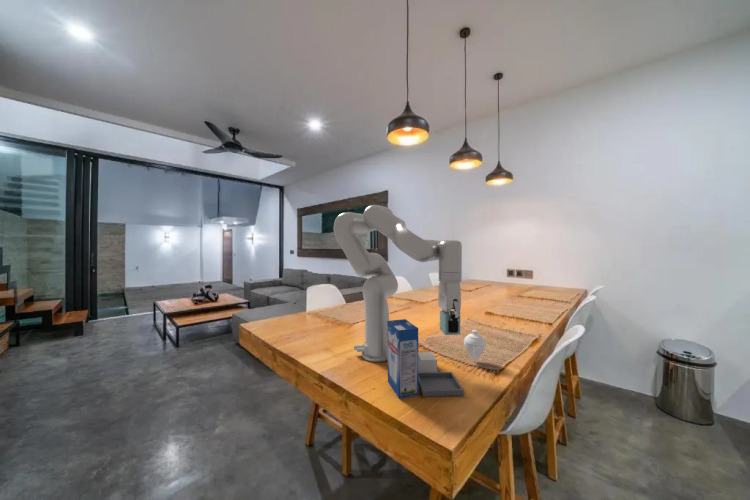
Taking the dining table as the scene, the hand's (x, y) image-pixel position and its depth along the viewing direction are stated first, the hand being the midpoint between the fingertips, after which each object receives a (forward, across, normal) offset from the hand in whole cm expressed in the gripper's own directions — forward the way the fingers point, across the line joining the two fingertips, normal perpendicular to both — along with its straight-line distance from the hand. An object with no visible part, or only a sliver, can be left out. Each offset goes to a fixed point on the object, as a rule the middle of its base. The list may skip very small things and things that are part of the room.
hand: (449, 328), depth 93 cm
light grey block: (+15, -4, -8) cm, 18 cm away
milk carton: (+16, +8, -18) cm, 25 cm away
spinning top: (+16, -7, +12) cm, 21 cm away
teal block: (+1, 0, 0) cm, 1 cm away
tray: (+15, +8, -6) cm, 19 cm away
